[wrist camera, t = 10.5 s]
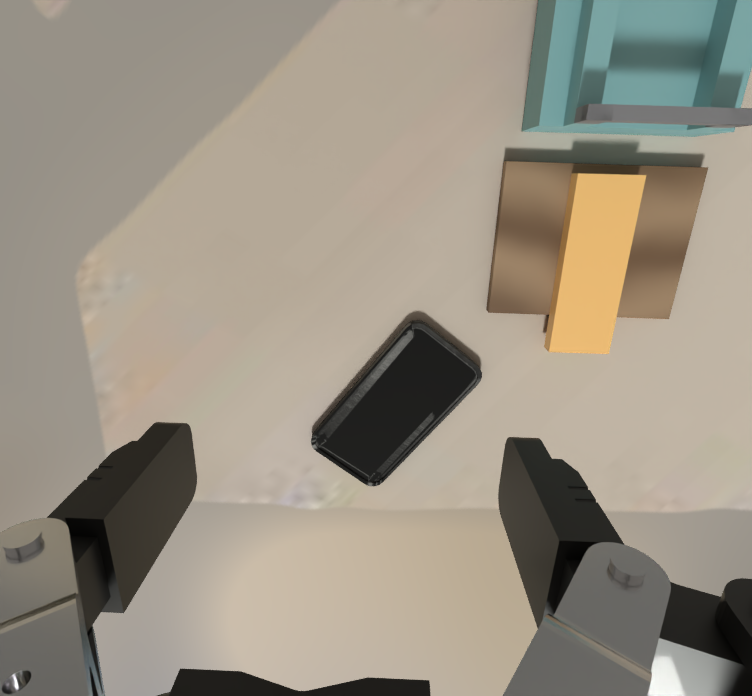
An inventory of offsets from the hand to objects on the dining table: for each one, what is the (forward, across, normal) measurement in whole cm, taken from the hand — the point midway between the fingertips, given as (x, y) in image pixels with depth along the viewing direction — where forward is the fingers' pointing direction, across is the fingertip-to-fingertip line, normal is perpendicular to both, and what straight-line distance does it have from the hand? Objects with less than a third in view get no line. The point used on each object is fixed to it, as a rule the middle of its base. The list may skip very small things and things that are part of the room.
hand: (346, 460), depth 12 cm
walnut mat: (+26, -16, -2) cm, 31 cm away
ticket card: (+25, -16, -1) cm, 30 cm away
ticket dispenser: (+26, -16, -15) cm, 34 cm away
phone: (+27, -2, +12) cm, 29 cm away
